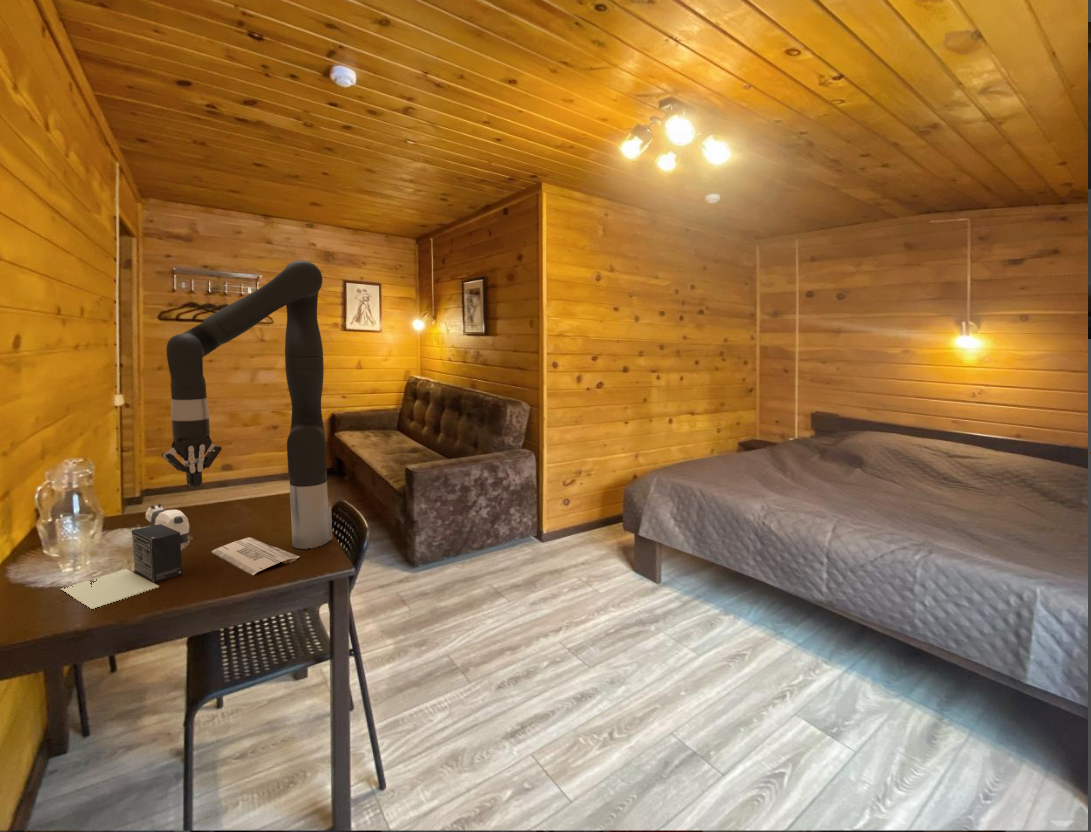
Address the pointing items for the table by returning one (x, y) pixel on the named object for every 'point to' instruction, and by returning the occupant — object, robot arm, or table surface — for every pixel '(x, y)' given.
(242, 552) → the newspaper
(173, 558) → the small box
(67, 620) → the table surface
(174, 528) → the giant panda
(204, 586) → the table surface
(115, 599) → the blank cream paper sheet
